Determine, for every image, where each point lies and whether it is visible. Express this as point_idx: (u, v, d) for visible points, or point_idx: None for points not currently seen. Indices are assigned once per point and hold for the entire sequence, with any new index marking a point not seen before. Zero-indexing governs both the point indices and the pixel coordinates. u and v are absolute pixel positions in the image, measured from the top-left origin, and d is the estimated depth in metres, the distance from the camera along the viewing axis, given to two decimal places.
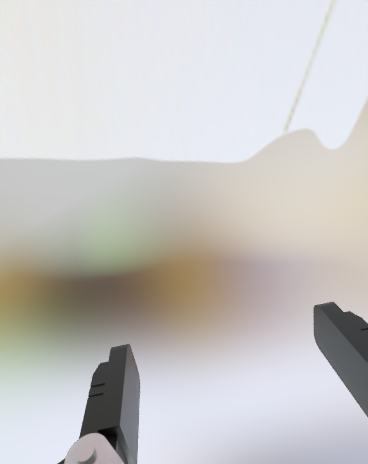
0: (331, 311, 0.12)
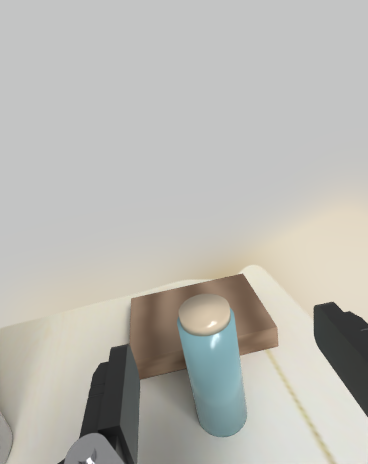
0: (331, 311, 0.12)
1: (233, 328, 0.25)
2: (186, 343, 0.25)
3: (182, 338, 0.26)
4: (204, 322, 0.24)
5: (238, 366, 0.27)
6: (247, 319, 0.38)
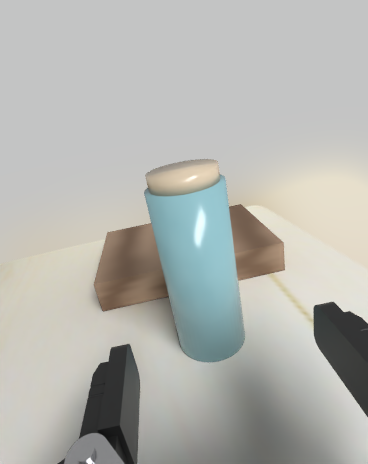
0: (331, 311, 0.12)
1: (223, 191, 0.18)
2: (156, 213, 0.17)
3: (150, 208, 0.18)
4: (180, 174, 0.17)
5: (232, 256, 0.19)
6: (245, 238, 0.31)
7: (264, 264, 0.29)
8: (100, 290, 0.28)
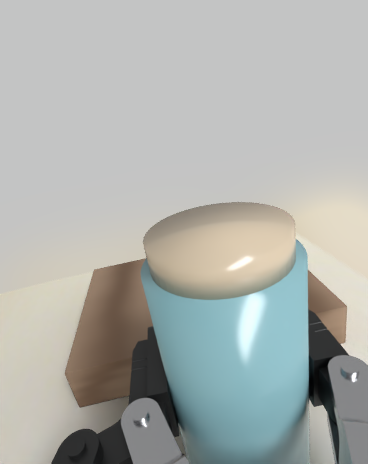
0: None
1: (307, 279, 0.08)
2: (165, 326, 0.08)
3: (153, 311, 0.09)
4: (222, 253, 0.07)
5: (308, 390, 0.10)
6: None
7: None
8: (75, 380, 0.19)
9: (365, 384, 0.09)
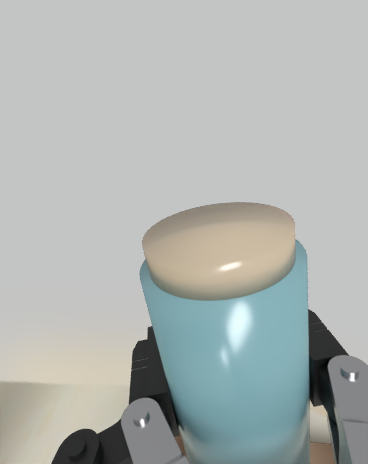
0: None
1: (307, 280, 0.08)
2: (165, 328, 0.08)
3: (153, 312, 0.09)
4: (221, 254, 0.07)
5: (308, 391, 0.10)
6: None
7: None
8: None
9: (365, 384, 0.09)
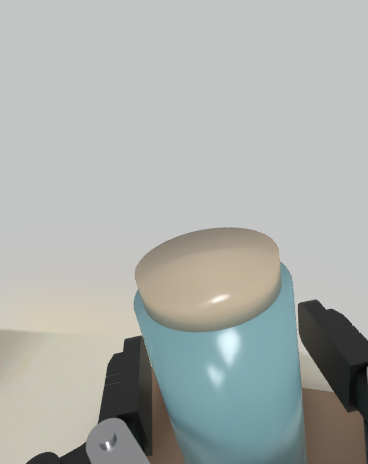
0: (314, 308, 0.12)
1: (292, 306, 0.09)
2: (158, 356, 0.09)
3: (146, 341, 0.09)
4: (207, 288, 0.08)
5: (301, 410, 0.10)
6: None
7: None
8: None
9: None
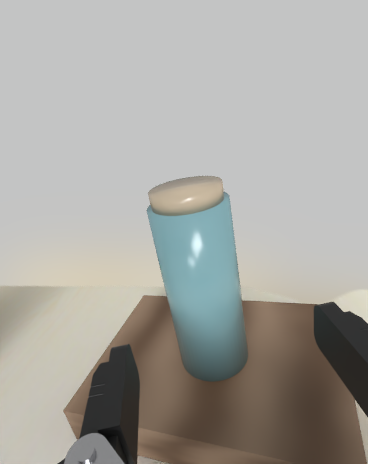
0: (331, 311, 0.12)
1: (228, 210, 0.17)
2: (159, 232, 0.17)
3: (153, 227, 0.17)
4: (184, 194, 0.16)
5: (235, 275, 0.19)
6: (302, 417, 0.17)
7: None
8: (71, 419, 0.21)
9: None
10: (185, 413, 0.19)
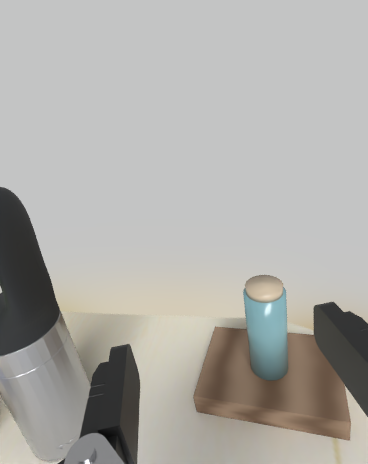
0: (331, 311, 0.12)
1: (285, 298, 0.36)
2: (252, 308, 0.36)
3: (249, 305, 0.36)
4: (266, 293, 0.35)
5: (286, 327, 0.38)
6: (320, 397, 0.36)
7: (330, 430, 0.34)
8: (197, 400, 0.39)
9: None
10: (260, 396, 0.37)
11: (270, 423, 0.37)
